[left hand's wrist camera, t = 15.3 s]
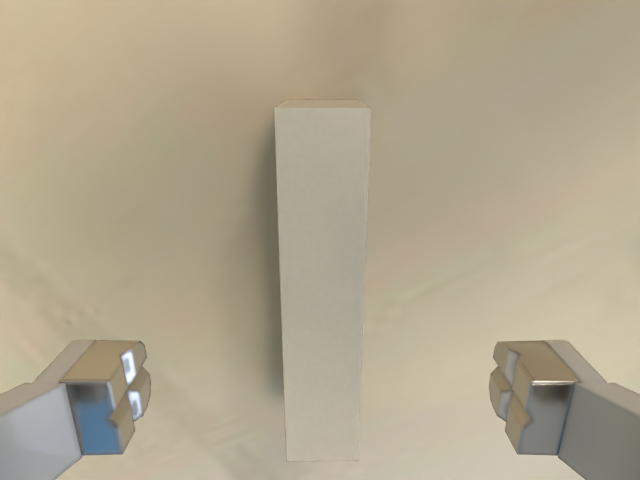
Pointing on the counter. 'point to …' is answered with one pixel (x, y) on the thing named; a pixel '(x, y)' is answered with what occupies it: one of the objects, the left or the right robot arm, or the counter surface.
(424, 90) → the counter surface
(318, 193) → the bar
